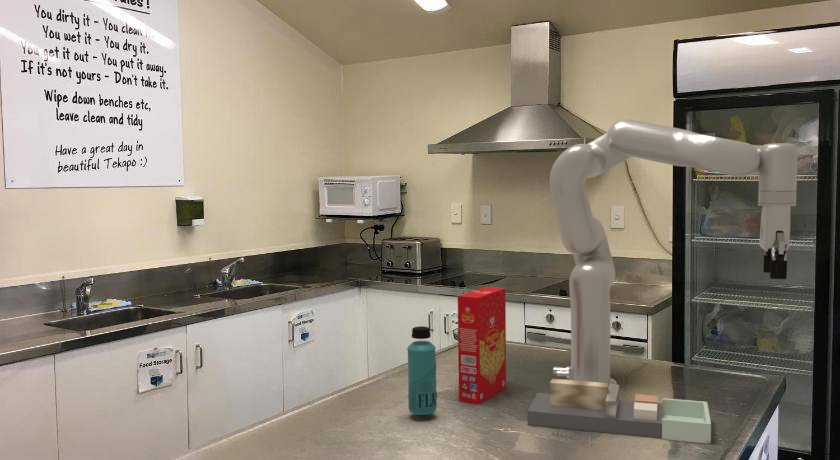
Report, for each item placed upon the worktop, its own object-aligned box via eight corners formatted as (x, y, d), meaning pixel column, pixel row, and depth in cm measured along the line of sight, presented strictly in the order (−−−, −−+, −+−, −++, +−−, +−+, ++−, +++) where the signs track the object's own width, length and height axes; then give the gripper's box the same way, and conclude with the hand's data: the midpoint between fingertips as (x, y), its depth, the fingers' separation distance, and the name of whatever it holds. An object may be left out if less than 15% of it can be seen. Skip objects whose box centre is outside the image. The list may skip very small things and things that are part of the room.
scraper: (546, 411, 149) (546, 388, 149) (555, 394, 160) (555, 373, 160) (615, 418, 144) (615, 394, 144) (619, 400, 156) (619, 378, 155)
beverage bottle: (416, 423, 152) (414, 332, 150) (402, 414, 158) (401, 326, 156) (442, 418, 155) (441, 328, 153) (428, 409, 161) (427, 323, 159)
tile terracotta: (634, 409, 149) (634, 400, 149) (635, 403, 154) (635, 394, 154) (657, 411, 148) (657, 402, 148) (657, 405, 152) (657, 395, 152)
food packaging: (478, 404, 164) (477, 297, 162) (458, 401, 166) (457, 296, 164) (506, 388, 176) (505, 288, 174) (487, 384, 179) (486, 287, 177)
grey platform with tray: (527, 425, 150) (527, 407, 149) (538, 404, 163) (538, 387, 162) (710, 444, 138) (711, 424, 138) (706, 420, 151) (707, 401, 151)
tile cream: (633, 418, 144) (633, 408, 144) (634, 411, 148) (634, 402, 148) (656, 420, 143) (657, 411, 143) (657, 413, 147) (657, 404, 147)
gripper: (753, 197, 166) (751, 269, 168) (764, 200, 150) (761, 280, 151) (788, 197, 164) (786, 271, 165) (803, 200, 148) (800, 282, 149)
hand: (774, 275), depth 158 cm, fingers open, 9 cm apart
